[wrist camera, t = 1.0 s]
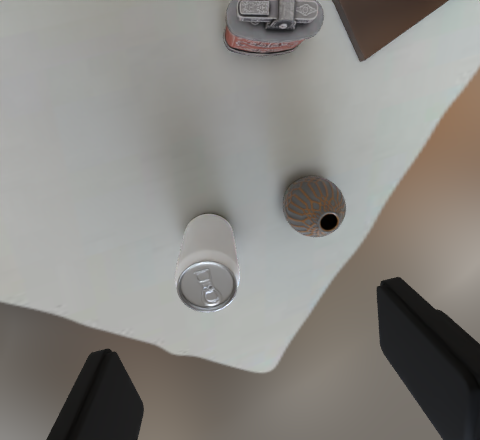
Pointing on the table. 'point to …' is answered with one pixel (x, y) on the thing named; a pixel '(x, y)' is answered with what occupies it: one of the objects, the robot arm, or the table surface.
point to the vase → (314, 206)
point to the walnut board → (380, 20)
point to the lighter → (270, 25)
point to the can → (207, 264)
